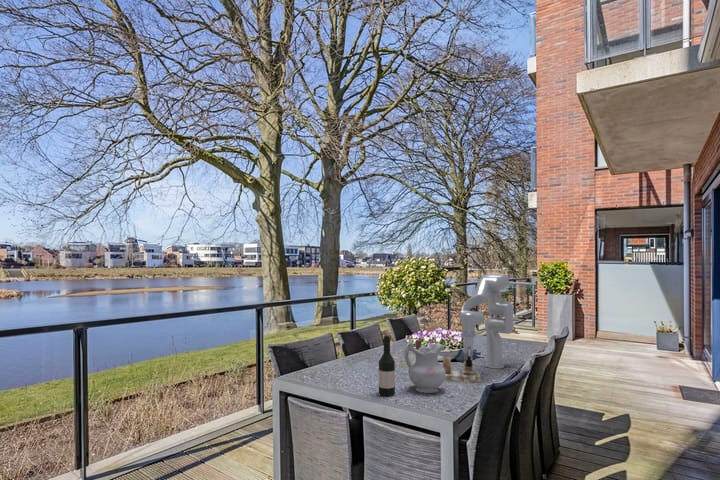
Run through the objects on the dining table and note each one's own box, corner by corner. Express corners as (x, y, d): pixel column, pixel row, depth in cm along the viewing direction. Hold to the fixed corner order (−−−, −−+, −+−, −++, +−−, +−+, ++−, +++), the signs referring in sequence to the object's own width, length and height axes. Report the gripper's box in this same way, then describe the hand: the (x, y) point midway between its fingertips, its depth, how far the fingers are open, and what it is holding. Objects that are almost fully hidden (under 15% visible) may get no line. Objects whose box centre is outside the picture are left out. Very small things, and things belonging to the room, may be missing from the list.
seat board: (478, 376, 253) (478, 356, 253) (480, 382, 241) (480, 361, 241) (437, 374, 257) (437, 354, 258) (437, 380, 245) (437, 359, 246)
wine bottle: (377, 392, 223) (377, 334, 225) (393, 391, 224) (393, 333, 225) (379, 397, 215) (379, 336, 216) (396, 396, 215) (396, 336, 217)
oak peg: (472, 369, 250) (472, 349, 250) (472, 371, 245) (472, 350, 246) (464, 369, 251) (464, 348, 251) (464, 371, 246) (464, 350, 247)
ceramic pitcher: (415, 399, 214) (418, 350, 214) (397, 386, 232) (399, 340, 231) (451, 394, 223) (453, 347, 222) (431, 382, 241) (433, 338, 240)
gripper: (461, 331, 258) (461, 362, 257) (462, 336, 241) (462, 368, 240) (473, 332, 257) (474, 362, 256) (476, 336, 240) (476, 369, 239)
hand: (468, 365), depth 248 cm, fingers closed on oak peg, 4 cm apart
